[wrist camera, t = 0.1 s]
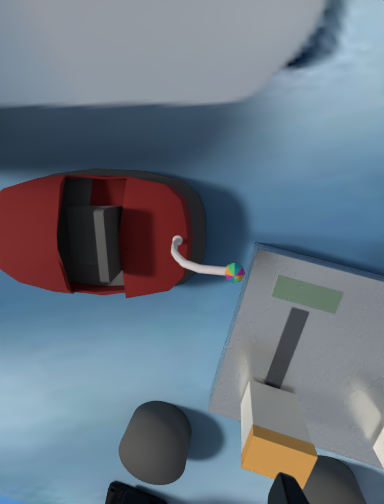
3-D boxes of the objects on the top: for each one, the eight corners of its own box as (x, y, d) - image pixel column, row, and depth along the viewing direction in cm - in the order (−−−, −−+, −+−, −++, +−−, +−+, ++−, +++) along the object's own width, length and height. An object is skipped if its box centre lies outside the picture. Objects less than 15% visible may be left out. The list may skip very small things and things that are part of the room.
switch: (287, 420, 20) (303, 489, 15) (239, 405, 20) (241, 467, 16) (297, 394, 19) (317, 457, 15) (248, 378, 20) (253, 435, 15)
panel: (418, 455, 22) (441, 489, 19) (210, 388, 24) (207, 412, 21) (506, 307, 18) (549, 325, 16) (255, 242, 20) (258, 249, 18)
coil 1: (183, 460, 26) (177, 494, 23) (127, 440, 27) (113, 470, 24) (197, 413, 24) (192, 442, 22) (137, 393, 25) (124, 419, 22)
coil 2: (341, 516, 24) (356, 560, 22) (278, 494, 25) (284, 533, 22) (367, 469, 23) (386, 509, 20) (299, 446, 24) (307, 482, 21)
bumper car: (7, 173, 23) (-165, 159, 13) (242, 165, 19) (249, 138, 10) (24, 281, 25) (-111, 339, 15) (239, 290, 22) (242, 370, 12)
